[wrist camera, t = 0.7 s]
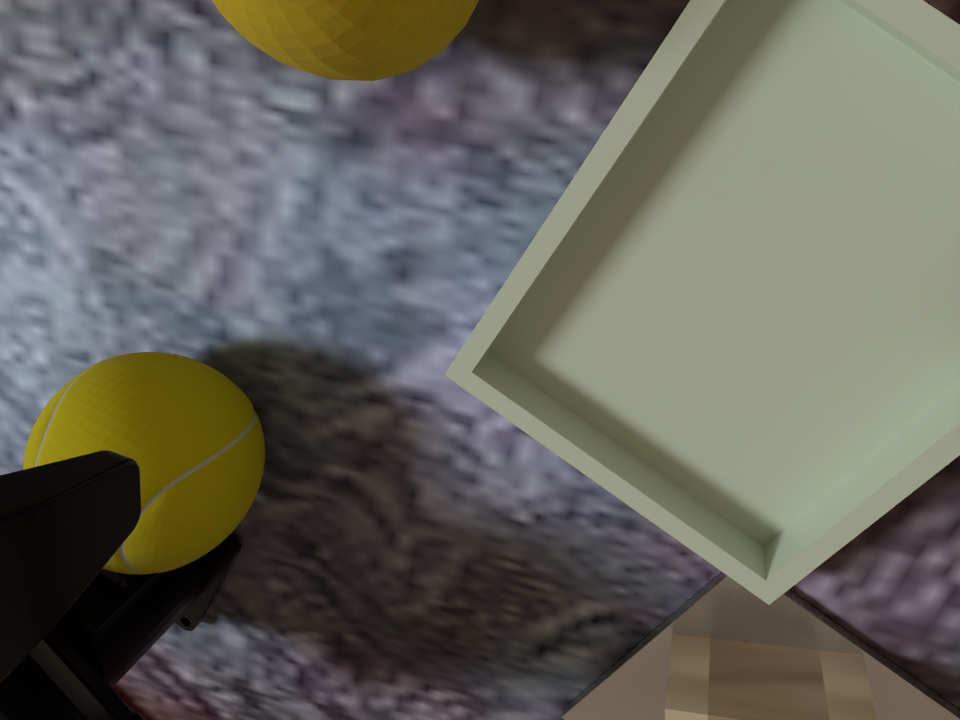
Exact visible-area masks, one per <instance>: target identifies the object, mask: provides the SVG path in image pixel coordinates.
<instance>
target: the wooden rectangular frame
mask: <svg viewBox="0 0 960 720" xmlns="http://www.w3.org/2000/svg"><path fill="white" fill-rule="evenodd" d="M665 720H877V718H876V714H875V709H874V704H873V700H872V695H871V690H870V685H869V681H868V676H867V671H866V667H865V662H864V657H863V655H856V654H847V653H838V652H829V651H820V650H811V649H802V648H793V647H784V646H775V645H766V644H757V643H748V642H739V641H730V640H721V639H712V638H702V637H693V636H684V635H675V634H672V640H671V650H670V660H669V670H668V680H667V690H666V700H665Z"/></svg>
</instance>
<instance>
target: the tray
mask: <svg viewBox="0 0 960 720" xmlns="http://www.w3.org/2000/svg"><path fill="white" fill-rule="evenodd" d="M445 376H447V377H448V378H449V379H451V380H452V381H454V382H455V383H456V384H458V385H459V386H461V387H462V388H463V389H465V390H466V391H468V392H469V393H471V394H472V395H473V396H475V397H476V398H478V399H479V400H480V401H482V402H483V403H485V404H486V405H487V406H489V407H490V408H492V409H493V410H495V411H496V412H497V413H499V414H500V415H502V416H503V417H504V418H506V419H507V420H509V421H510V422H511V423H513V424H514V425H516V426H517V427H518V428H520V429H521V430H523V431H524V432H526V433H527V434H528V435H530V436H531V437H533V438H534V439H535V440H537V441H538V442H540V443H541V444H542V445H544V446H545V447H547V448H548V449H550V450H551V451H552V452H554V453H555V454H557V455H558V456H559V457H561V458H562V459H564V460H565V461H566V462H568V463H569V464H571V465H572V466H574V467H575V468H576V469H578V470H579V471H581V472H582V473H583V474H585V475H586V476H588V477H589V478H590V479H592V480H593V481H595V482H596V483H597V484H599V485H600V486H602V487H603V488H605V489H606V490H607V491H609V492H610V493H612V494H613V495H614V496H616V497H617V498H619V499H620V500H621V501H623V502H624V503H626V504H627V505H629V506H630V507H631V508H633V509H634V510H636V511H637V512H638V513H640V514H641V515H643V516H644V517H645V518H647V519H648V520H650V521H651V522H652V523H654V524H655V525H657V526H658V527H660V528H661V529H662V530H664V531H665V532H667V533H668V534H669V535H671V536H672V537H674V538H675V539H676V540H678V541H679V542H681V543H682V544H684V545H685V546H686V547H688V548H689V549H691V550H692V551H693V552H695V553H696V554H698V555H699V556H700V557H702V558H703V559H705V560H706V561H708V562H709V563H710V564H712V565H713V566H715V567H716V568H717V569H719V570H720V571H722V572H723V573H724V574H726V575H727V576H729V577H730V578H731V579H733V580H734V581H736V582H737V583H739V584H740V585H741V586H743V587H744V588H746V589H747V590H748V591H750V592H751V593H753V594H754V595H755V596H757V597H758V598H760V599H761V600H763V601H764V602H765V603H767V604H768V605H770V604H771V603H772V602H774V601H775V600H776V599H777V598H779V597H780V596H781V595H782V594H784V593H785V592H786V591H788V590H789V589H790V588H791V587H793V586H794V585H795V584H796V583H798V582H799V581H800V580H802V579H803V578H804V577H805V576H807V575H808V574H809V573H810V572H812V571H813V570H814V569H816V568H817V567H818V566H819V565H821V564H822V563H823V562H824V561H826V560H827V559H828V558H830V557H831V556H832V555H833V554H835V553H836V552H837V551H838V550H840V549H841V548H842V547H844V546H845V545H846V544H847V543H849V542H850V541H851V540H852V539H854V538H855V537H856V536H858V535H859V534H860V533H861V532H863V531H864V530H865V529H866V528H868V527H869V526H870V525H871V524H873V523H874V522H875V521H877V520H878V519H879V518H880V517H882V516H883V515H884V514H885V513H887V512H888V511H889V510H891V509H892V508H893V507H894V506H896V505H897V504H898V503H899V502H901V501H902V500H903V499H905V498H906V497H907V496H908V495H910V494H911V493H912V492H913V491H915V490H916V489H917V488H919V487H920V486H921V485H922V484H924V483H925V482H926V481H927V480H929V479H930V478H931V477H933V476H934V475H935V474H936V473H938V472H939V471H940V470H941V469H943V468H944V467H945V466H947V465H948V464H949V463H950V462H952V461H953V460H954V459H955V458H957V457H958V456H959V455H960V25H959V24H957V23H956V22H955V21H953V20H952V19H950V18H949V17H947V16H946V15H944V14H943V13H941V12H940V11H938V10H937V9H935V8H934V7H932V6H931V5H929V4H928V3H926V2H925V1H923V0H690V2H689V3H688V5H687V6H686V8H685V9H684V11H683V12H682V14H681V15H680V17H679V18H678V20H677V21H676V23H675V24H674V26H673V27H672V29H671V30H670V32H669V33H668V35H667V37H666V38H665V40H664V41H663V43H662V44H661V46H660V47H659V49H658V50H657V52H656V53H655V55H654V56H653V58H652V59H651V61H650V62H649V64H648V65H647V67H646V69H645V70H644V72H643V73H642V75H641V76H640V78H639V79H638V81H637V82H636V84H635V85H634V87H633V88H632V90H631V91H630V93H629V94H628V96H627V97H626V99H625V100H624V102H623V104H622V105H621V107H620V108H619V110H618V111H617V113H616V114H615V116H614V117H613V119H612V120H611V122H610V123H609V125H608V126H607V128H606V129H605V131H604V132H603V134H602V136H601V137H600V139H599V140H598V142H597V143H596V145H595V146H594V148H593V149H592V151H591V152H590V154H589V155H588V157H587V158H586V160H585V161H584V163H583V164H582V166H581V167H580V169H579V171H578V172H577V174H576V175H575V177H574V178H573V180H572V181H571V183H570V184H569V186H568V187H567V189H566V190H565V192H564V193H563V195H562V196H561V198H560V199H559V201H558V203H557V204H556V206H555V207H554V209H553V210H552V212H551V213H550V215H549V216H548V218H547V219H546V221H545V222H544V224H543V225H542V227H541V228H540V230H539V231H538V233H537V234H536V236H535V238H534V239H533V241H532V242H531V244H530V245H529V247H528V248H527V250H526V251H525V253H524V254H523V256H522V257H521V259H520V260H519V262H518V263H517V265H516V266H515V268H514V270H513V271H512V273H511V274H510V276H509V277H508V279H507V280H506V282H505V283H504V285H503V286H502V288H501V289H500V291H499V292H498V294H497V295H496V297H495V298H494V300H493V301H492V303H491V305H490V306H489V308H488V309H487V311H486V312H485V314H484V315H483V317H482V318H481V320H480V321H479V323H478V324H477V326H476V327H475V329H474V330H473V332H472V333H471V335H470V337H469V338H468V340H467V341H466V343H465V344H464V346H463V347H462V349H461V350H460V352H459V353H458V355H457V356H456V358H455V359H454V361H453V362H452V364H451V365H450V367H449V368H448V370H447V372H446V373H445Z"/></svg>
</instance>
